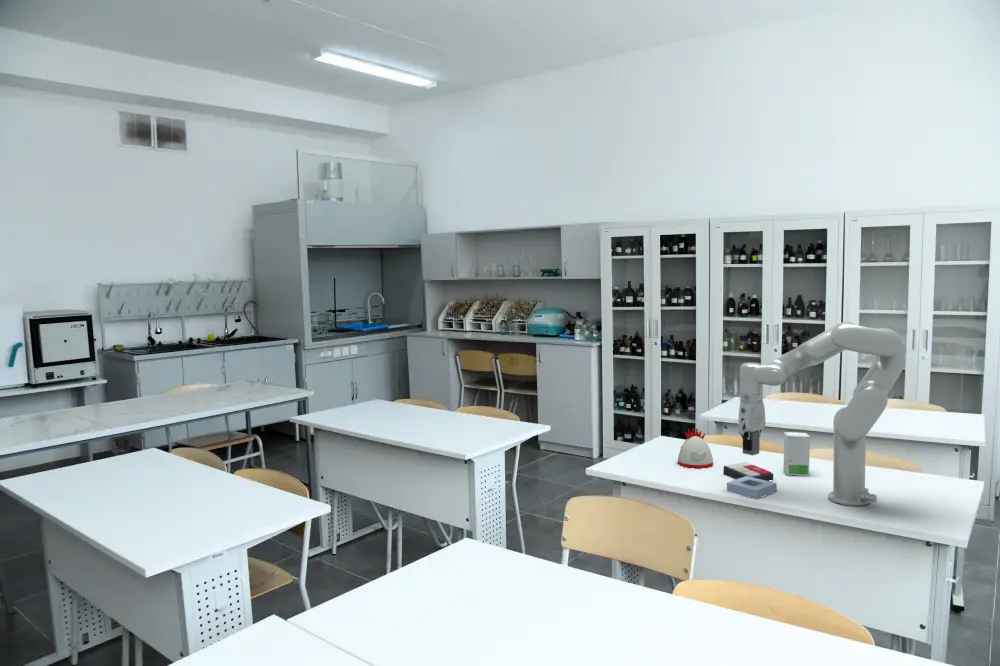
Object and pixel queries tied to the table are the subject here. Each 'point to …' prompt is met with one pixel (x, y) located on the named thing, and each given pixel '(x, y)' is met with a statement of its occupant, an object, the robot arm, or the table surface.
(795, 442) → the skincare box
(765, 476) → the calculator
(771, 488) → the outlet plate
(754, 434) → the block
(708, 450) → the kitchen timer
